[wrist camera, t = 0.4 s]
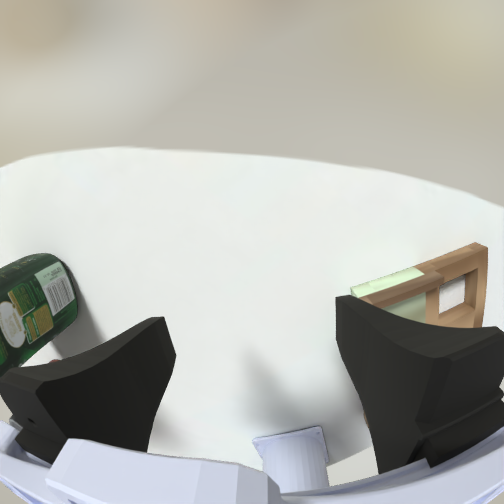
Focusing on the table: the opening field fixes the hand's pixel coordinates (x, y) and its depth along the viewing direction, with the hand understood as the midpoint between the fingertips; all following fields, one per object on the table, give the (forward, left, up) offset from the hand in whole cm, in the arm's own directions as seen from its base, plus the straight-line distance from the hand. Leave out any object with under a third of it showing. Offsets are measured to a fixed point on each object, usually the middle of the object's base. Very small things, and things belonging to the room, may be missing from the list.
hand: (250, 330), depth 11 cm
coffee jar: (+3, +21, -10) cm, 24 cm away
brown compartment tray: (-13, -14, -10) cm, 21 cm away
